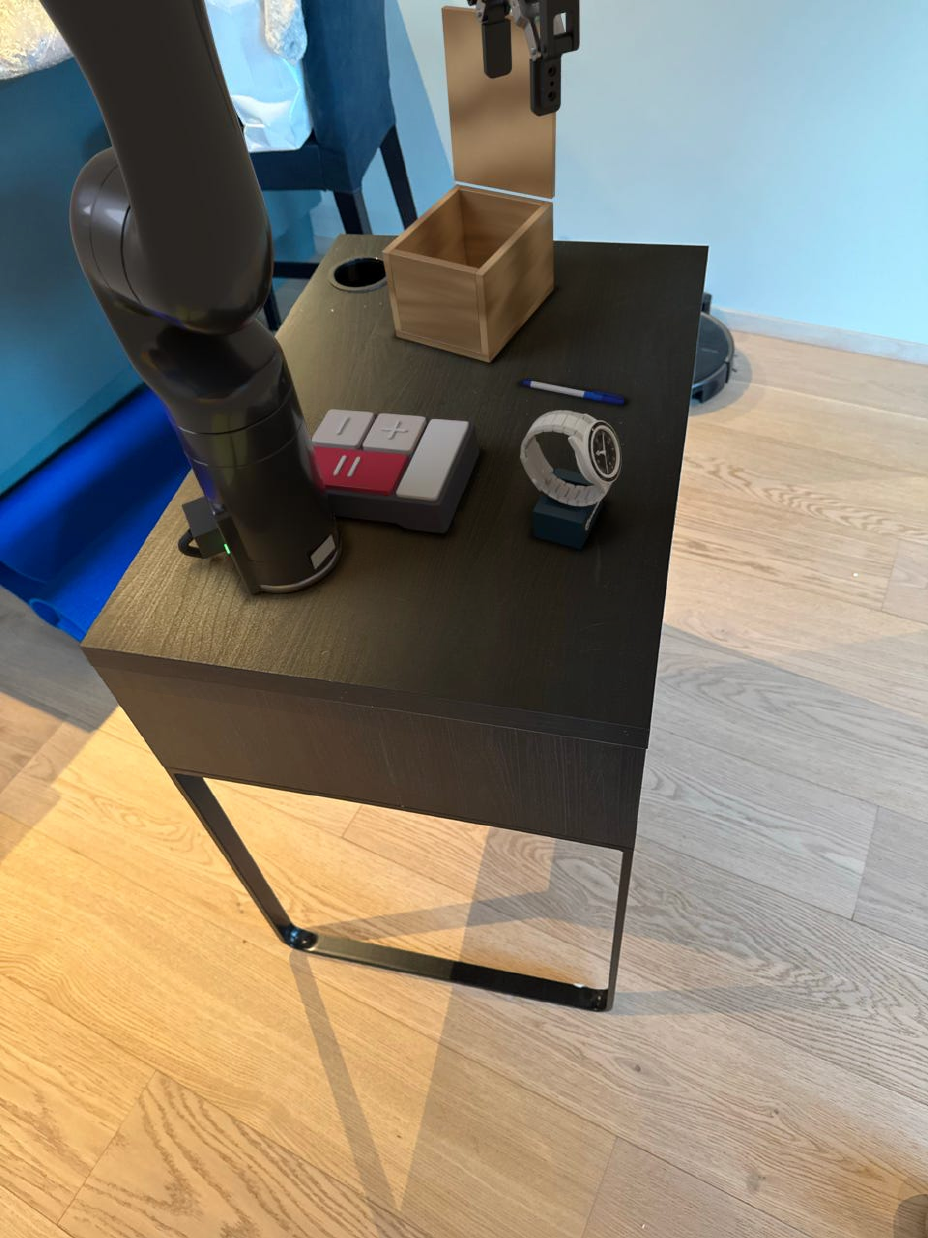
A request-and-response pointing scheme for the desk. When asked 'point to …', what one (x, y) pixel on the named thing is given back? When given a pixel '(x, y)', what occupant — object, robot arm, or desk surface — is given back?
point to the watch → (571, 476)
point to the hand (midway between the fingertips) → (521, 93)
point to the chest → (471, 270)
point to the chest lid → (495, 113)
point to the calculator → (395, 466)
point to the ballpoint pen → (578, 392)
